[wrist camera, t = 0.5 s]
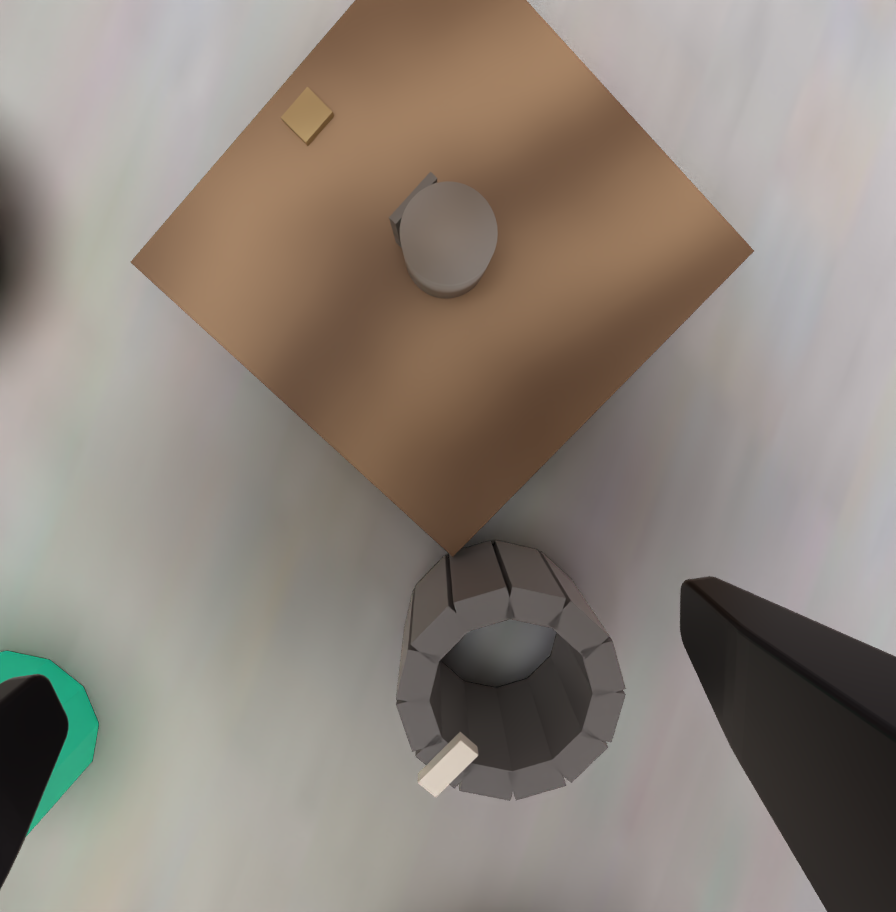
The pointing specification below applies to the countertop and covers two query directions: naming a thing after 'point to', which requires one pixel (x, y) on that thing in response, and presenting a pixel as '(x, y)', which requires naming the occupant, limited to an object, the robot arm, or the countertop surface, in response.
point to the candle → (80, 720)
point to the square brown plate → (443, 250)
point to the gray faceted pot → (513, 705)
